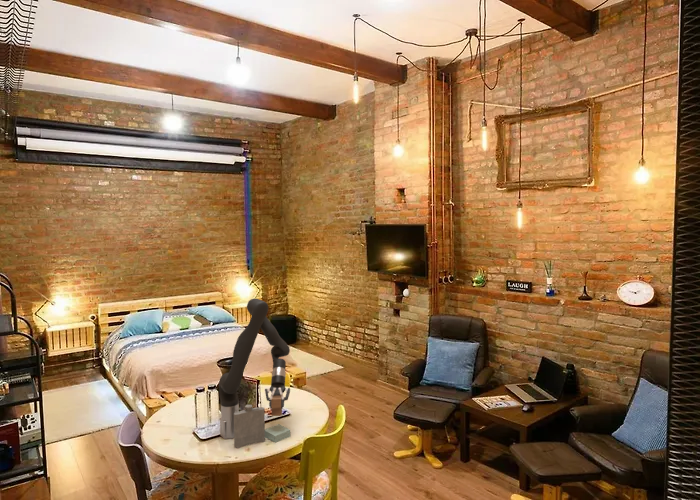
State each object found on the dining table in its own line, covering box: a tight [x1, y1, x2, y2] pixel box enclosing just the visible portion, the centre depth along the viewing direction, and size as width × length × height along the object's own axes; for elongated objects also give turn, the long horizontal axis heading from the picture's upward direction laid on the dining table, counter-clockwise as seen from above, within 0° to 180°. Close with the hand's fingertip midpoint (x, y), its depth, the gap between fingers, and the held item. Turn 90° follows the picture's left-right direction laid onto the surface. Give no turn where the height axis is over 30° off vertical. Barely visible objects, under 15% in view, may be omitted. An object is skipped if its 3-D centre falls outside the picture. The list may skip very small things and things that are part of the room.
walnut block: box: [270, 395, 283, 417], centre depth 246 cm, size 5×5×9 cm
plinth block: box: [265, 423, 291, 444], centre depth 247 cm, size 10×10×4 cm
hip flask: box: [233, 404, 266, 449], centre depth 239 cm, size 16×4×20 cm, turn 119°
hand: (276, 407), depth 244 cm, fingers closed on walnut block, 5 cm apart
